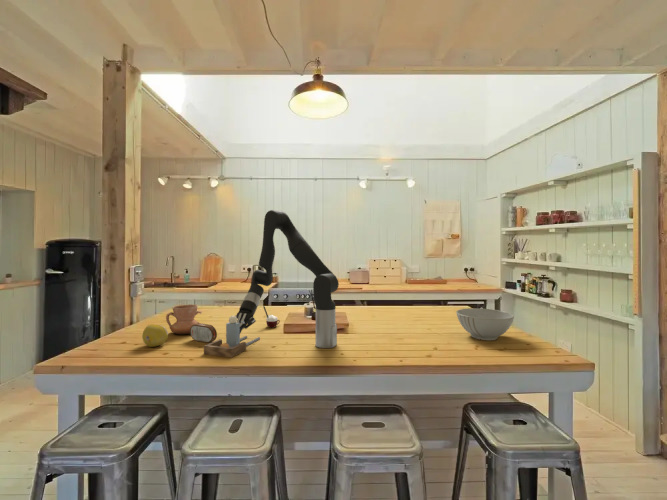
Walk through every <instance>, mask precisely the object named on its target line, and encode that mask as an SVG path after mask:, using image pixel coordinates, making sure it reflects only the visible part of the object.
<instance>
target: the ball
mask: <svg viewBox="0 0 667 500" xmlns="http://www.w3.org/2000/svg"><path fill="white" fill-rule="evenodd" d="M220 347H229V345H228V344H227V343H226V342H222V344H221V346H220Z"/></svg>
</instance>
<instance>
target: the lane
mask: <svg viewBox="0 0 667 500" xmlns="http://www.w3.org/2000/svg"><path fill="white" fill-rule="evenodd" d="M246 339H248V336H247V335H245V336H243V337H240V342H243V340H244V341H245V340H246ZM260 340H261V336H257V337H256V338H254V339H252V340H250V341H248V342H246V347H248V346H250V345H252V344H253V343H256V342H257V341H260Z"/></svg>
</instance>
